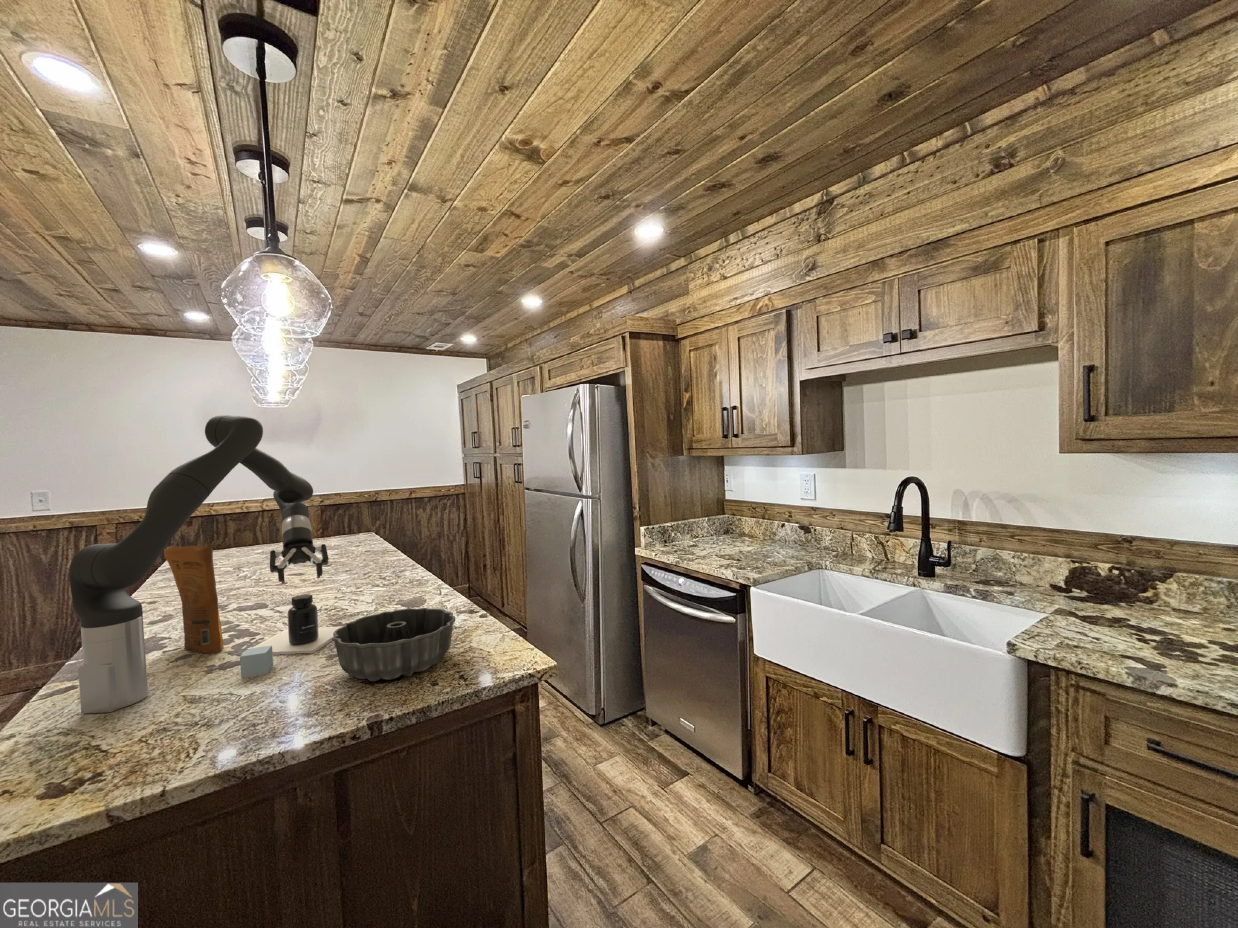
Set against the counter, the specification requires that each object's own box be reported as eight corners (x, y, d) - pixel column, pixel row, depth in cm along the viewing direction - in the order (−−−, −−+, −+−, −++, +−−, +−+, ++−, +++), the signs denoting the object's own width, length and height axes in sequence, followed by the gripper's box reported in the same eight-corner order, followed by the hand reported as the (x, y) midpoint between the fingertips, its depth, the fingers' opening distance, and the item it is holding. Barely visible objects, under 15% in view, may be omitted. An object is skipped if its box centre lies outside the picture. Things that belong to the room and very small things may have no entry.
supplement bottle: (308, 645, 134) (306, 599, 134) (283, 646, 134) (280, 600, 134) (324, 635, 141) (321, 592, 140) (299, 636, 141) (297, 593, 140)
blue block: (267, 674, 119) (265, 652, 119) (241, 678, 117) (239, 656, 117) (273, 665, 124) (272, 645, 123) (248, 669, 122) (247, 648, 122)
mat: (312, 653, 130) (312, 650, 130) (241, 656, 130) (241, 653, 130) (349, 628, 148) (349, 625, 148) (287, 631, 148) (286, 628, 148)
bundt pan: (411, 638, 139) (409, 601, 138) (480, 654, 125) (478, 613, 125) (310, 677, 116) (307, 633, 116) (381, 702, 102) (379, 653, 102)
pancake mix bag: (204, 658, 130) (197, 548, 129) (167, 648, 139) (160, 545, 138) (234, 649, 136) (227, 543, 135) (197, 639, 145) (190, 540, 144)
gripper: (267, 528, 147) (270, 576, 138) (324, 523, 155) (330, 567, 146) (268, 544, 152) (271, 591, 142) (324, 538, 159) (330, 582, 150)
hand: (301, 579), depth 144 cm, fingers open, 8 cm apart
